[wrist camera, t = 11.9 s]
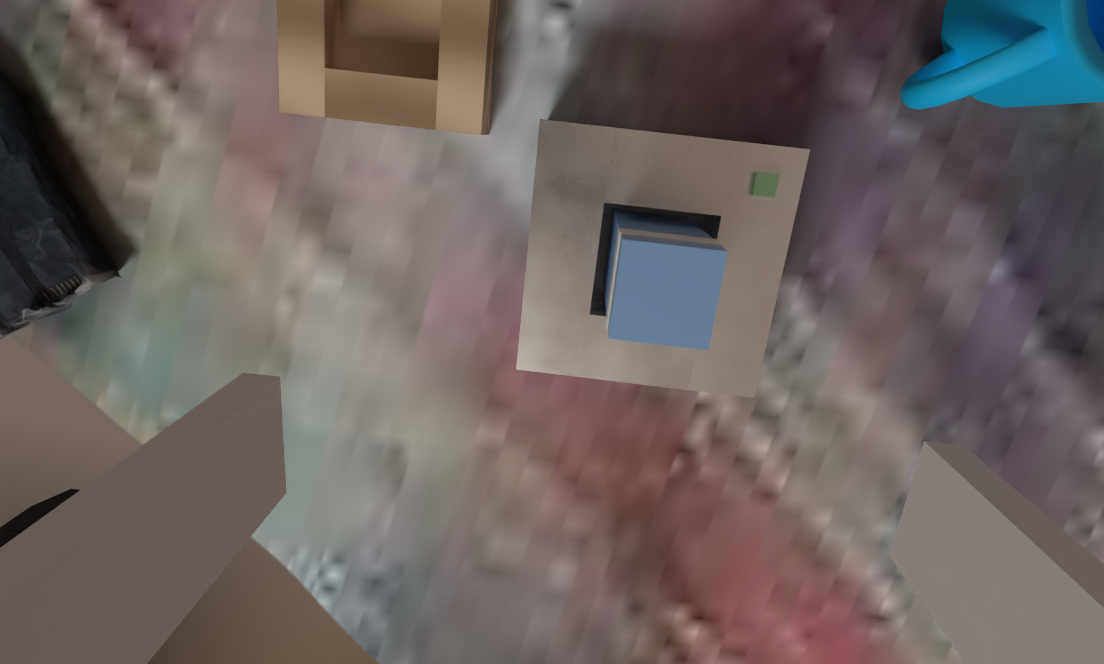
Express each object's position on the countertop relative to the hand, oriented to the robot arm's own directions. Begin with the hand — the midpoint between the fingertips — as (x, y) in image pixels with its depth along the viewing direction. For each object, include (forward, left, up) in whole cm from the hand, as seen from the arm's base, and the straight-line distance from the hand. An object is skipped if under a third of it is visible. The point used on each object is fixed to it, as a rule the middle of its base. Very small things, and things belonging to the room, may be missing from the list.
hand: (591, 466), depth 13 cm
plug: (-1, +3, -22) cm, 23 cm away
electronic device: (0, -33, -23) cm, 41 cm away
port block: (-1, +3, -23) cm, 23 cm away
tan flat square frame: (-11, -11, -23) cm, 28 cm away
